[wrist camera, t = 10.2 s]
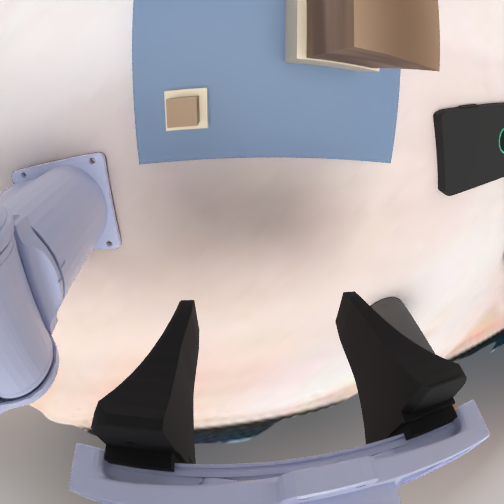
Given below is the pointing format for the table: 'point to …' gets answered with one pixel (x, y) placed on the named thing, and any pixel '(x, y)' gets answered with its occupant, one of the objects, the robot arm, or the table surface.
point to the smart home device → (469, 146)
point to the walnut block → (375, 33)
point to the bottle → (401, 321)
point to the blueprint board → (251, 86)
